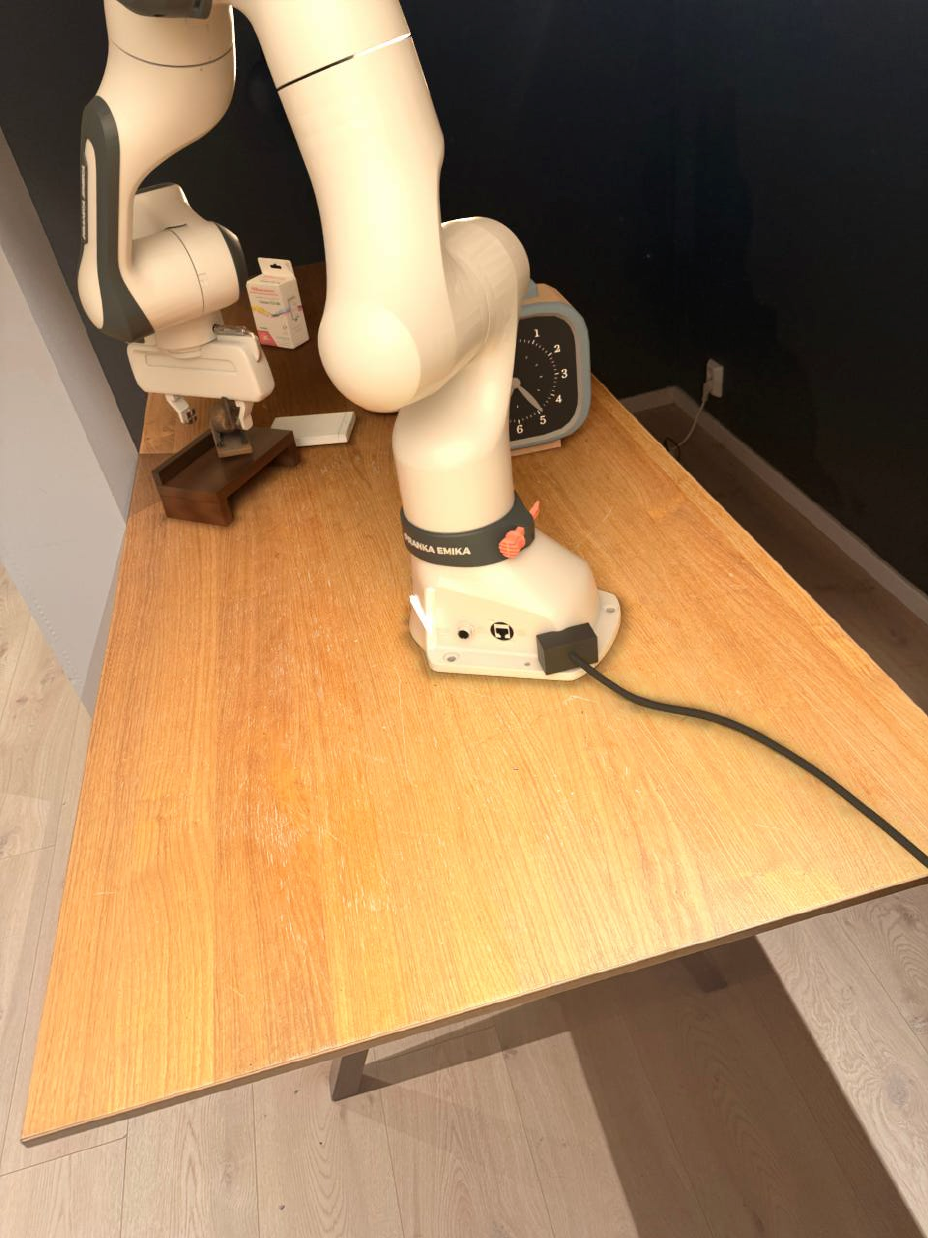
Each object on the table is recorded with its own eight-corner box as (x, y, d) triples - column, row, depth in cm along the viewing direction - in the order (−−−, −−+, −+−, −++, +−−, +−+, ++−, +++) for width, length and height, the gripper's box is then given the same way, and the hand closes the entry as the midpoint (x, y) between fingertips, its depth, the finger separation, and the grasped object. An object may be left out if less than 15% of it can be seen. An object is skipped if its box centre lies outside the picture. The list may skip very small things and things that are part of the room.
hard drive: (263, 440, 140) (345, 433, 139) (275, 416, 147) (354, 409, 145) (266, 450, 141) (347, 443, 140) (278, 426, 148) (356, 419, 146)
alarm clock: (449, 473, 129) (426, 315, 116) (436, 443, 136) (413, 292, 123) (594, 442, 131) (588, 284, 118) (574, 415, 138) (566, 264, 125)
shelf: (300, 461, 137) (289, 417, 133) (226, 526, 124) (211, 479, 120) (244, 455, 141) (231, 411, 137) (167, 517, 128) (150, 471, 124)
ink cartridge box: (259, 345, 178) (238, 265, 169) (276, 335, 181) (257, 256, 172) (293, 349, 174) (274, 268, 165) (310, 339, 177) (292, 258, 168)
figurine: (258, 467, 124) (247, 406, 118) (223, 473, 123) (211, 412, 117) (241, 420, 134) (231, 362, 129) (209, 425, 133) (197, 367, 128)
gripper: (269, 317, 116) (294, 420, 125) (141, 311, 125) (173, 409, 133) (239, 336, 112) (267, 442, 120) (109, 329, 120) (144, 429, 128)
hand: (217, 425), depth 127 cm, fingers open, 8 cm apart
